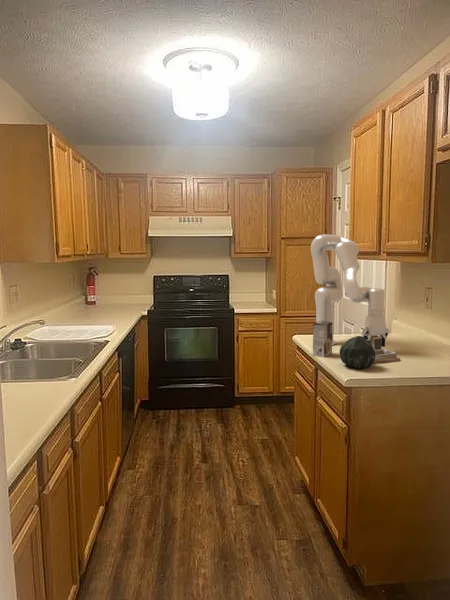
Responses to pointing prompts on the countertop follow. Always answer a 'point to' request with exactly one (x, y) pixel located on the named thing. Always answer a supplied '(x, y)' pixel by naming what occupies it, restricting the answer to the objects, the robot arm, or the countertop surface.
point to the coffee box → (322, 338)
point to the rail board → (385, 356)
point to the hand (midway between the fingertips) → (374, 347)
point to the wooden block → (376, 342)
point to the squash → (357, 352)
